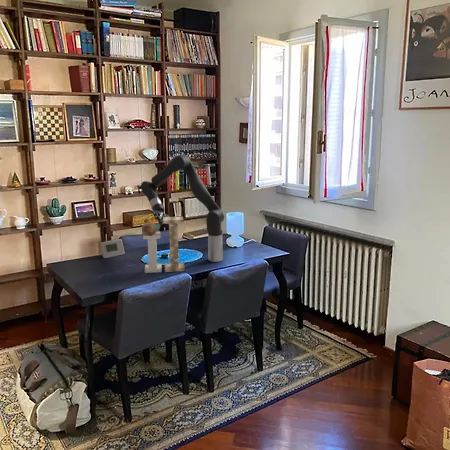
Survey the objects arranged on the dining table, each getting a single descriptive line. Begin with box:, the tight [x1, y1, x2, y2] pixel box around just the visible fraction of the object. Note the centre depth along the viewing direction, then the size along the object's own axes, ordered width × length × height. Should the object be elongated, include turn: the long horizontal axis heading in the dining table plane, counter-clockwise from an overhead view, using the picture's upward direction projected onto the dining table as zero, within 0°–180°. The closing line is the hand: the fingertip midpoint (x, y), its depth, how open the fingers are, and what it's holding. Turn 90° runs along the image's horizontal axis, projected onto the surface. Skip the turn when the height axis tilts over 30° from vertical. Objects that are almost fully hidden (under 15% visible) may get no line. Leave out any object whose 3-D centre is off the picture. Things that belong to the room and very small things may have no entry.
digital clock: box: [99, 238, 126, 259], centre depth 313 cm, size 16×9×11 cm, turn 119°
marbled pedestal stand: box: [162, 216, 186, 273], centre depth 283 cm, size 12×10×32 cm
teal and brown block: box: [141, 222, 161, 237], centre depth 284 cm, size 6×20×6 cm, turn 168°
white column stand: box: [142, 231, 163, 274], centre depth 282 cm, size 10×10×23 cm
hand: (166, 225), depth 301 cm, fingers open, 8 cm apart
